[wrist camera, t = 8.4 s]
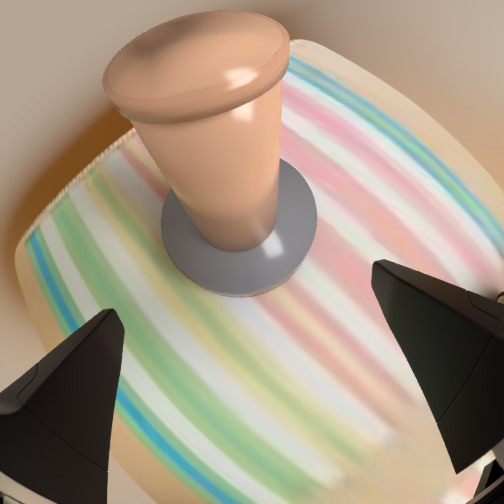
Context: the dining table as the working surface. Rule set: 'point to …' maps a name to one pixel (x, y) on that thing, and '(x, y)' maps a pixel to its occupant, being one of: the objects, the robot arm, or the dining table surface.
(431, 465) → the dining table surface
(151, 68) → the tan cylindrical canister
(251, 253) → the round gray base plate
